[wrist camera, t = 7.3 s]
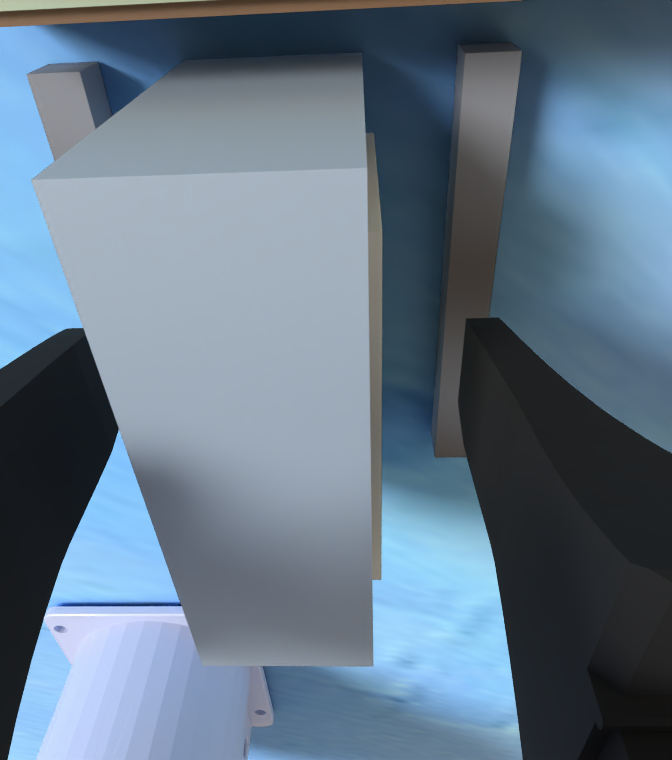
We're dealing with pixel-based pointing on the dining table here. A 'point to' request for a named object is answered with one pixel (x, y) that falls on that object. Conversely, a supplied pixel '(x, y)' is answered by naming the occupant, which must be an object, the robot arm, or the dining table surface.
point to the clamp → (466, 169)
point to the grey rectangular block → (242, 341)
